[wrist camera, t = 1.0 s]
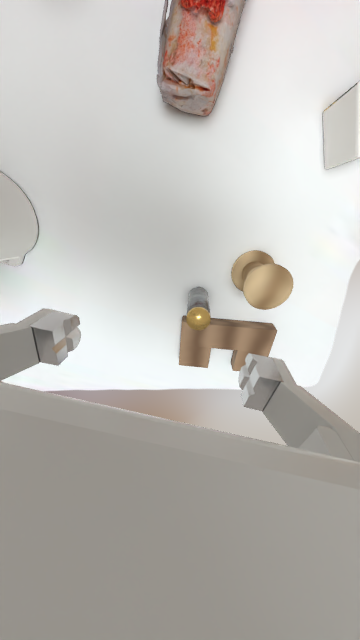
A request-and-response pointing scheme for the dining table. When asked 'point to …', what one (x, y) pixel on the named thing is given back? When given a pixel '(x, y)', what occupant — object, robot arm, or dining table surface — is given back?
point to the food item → (196, 51)
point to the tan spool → (261, 280)
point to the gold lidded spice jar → (198, 309)
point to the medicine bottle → (342, 129)
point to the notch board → (225, 341)
